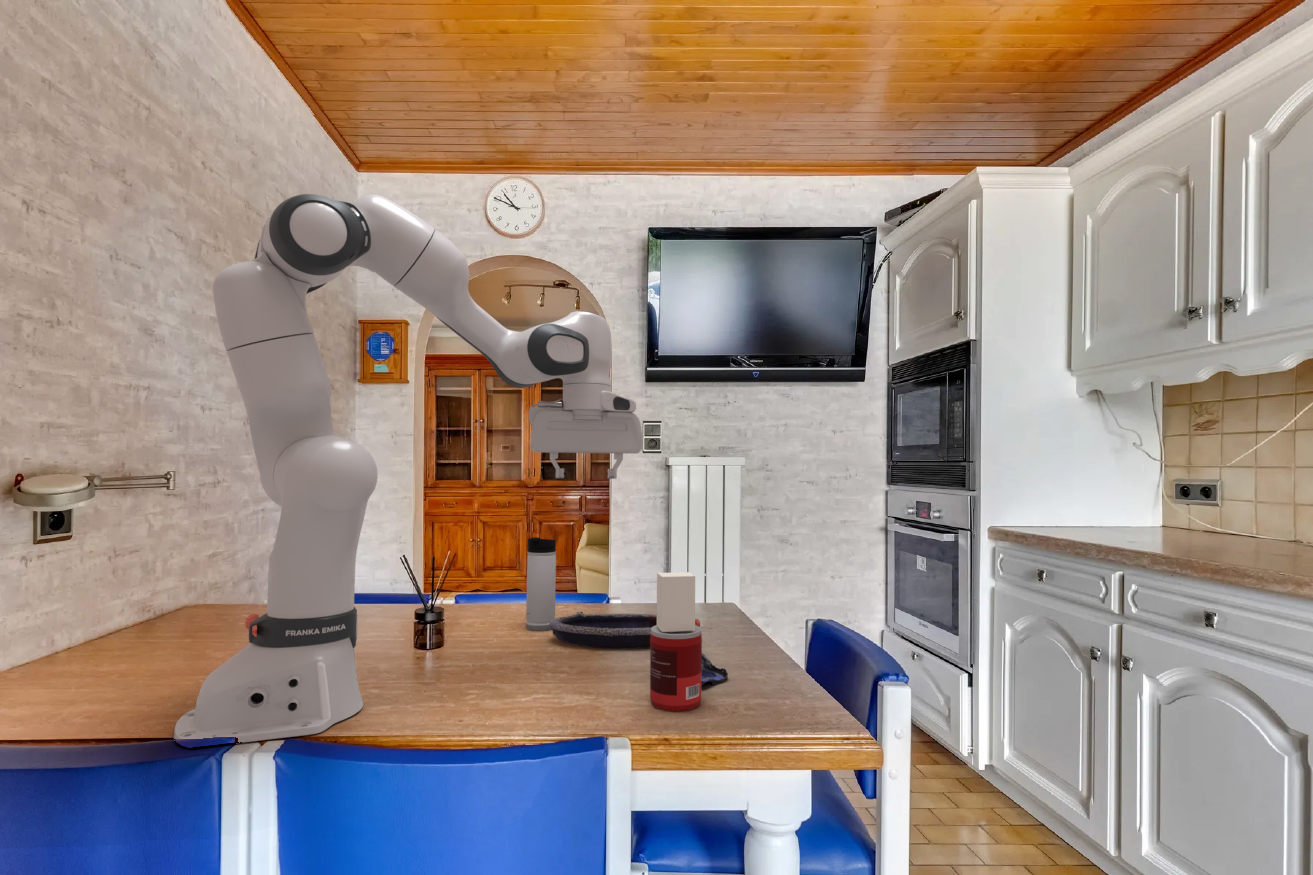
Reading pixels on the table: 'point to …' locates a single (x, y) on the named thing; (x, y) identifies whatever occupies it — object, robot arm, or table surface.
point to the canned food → (675, 669)
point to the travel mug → (540, 583)
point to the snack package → (711, 672)
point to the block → (676, 601)
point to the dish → (606, 629)
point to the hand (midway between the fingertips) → (586, 478)
